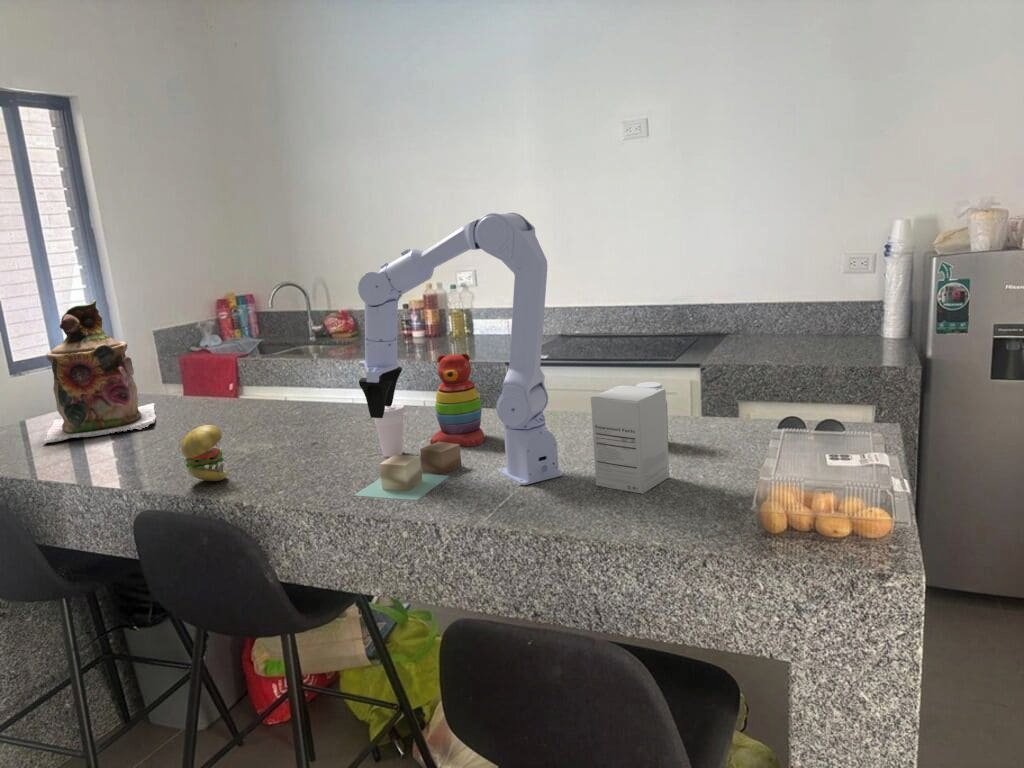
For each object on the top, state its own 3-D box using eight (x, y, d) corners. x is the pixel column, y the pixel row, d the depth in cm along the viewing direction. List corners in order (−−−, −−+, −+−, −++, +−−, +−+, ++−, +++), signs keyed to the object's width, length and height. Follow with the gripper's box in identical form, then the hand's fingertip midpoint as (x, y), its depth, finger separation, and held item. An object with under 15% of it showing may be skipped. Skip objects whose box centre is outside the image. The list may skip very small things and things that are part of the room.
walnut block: (461, 468, 136) (459, 444, 135) (443, 476, 132) (441, 452, 131) (441, 464, 139) (438, 441, 138) (422, 473, 135) (420, 449, 134)
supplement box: (623, 469, 128) (619, 384, 125) (670, 477, 122) (667, 388, 119) (593, 486, 121) (588, 395, 118) (642, 495, 116) (638, 400, 113)
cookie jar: (54, 426, 197) (29, 304, 190) (156, 410, 207) (136, 294, 200) (41, 447, 175) (12, 310, 168) (156, 429, 185) (133, 298, 178)
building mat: (450, 477, 131) (449, 475, 131) (416, 501, 120) (416, 500, 120) (390, 473, 136) (390, 472, 135) (353, 497, 125) (353, 495, 125)
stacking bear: (427, 447, 151) (418, 359, 147) (443, 433, 160) (435, 350, 157) (479, 446, 148) (471, 358, 145) (492, 432, 158) (485, 349, 154)
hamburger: (236, 480, 138) (226, 417, 136) (197, 492, 133) (186, 427, 131) (219, 473, 144) (209, 412, 141) (181, 483, 139) (170, 421, 137)
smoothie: (378, 462, 143) (369, 390, 140) (375, 453, 149) (367, 384, 146) (411, 457, 144) (404, 386, 142) (407, 449, 150) (399, 380, 148)
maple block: (422, 481, 129) (420, 456, 128) (408, 491, 125) (405, 465, 124) (397, 479, 131) (394, 454, 130) (382, 489, 126) (379, 463, 126)
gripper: (368, 330, 142) (368, 399, 145) (348, 345, 128) (349, 421, 131) (405, 332, 142) (405, 401, 145) (389, 347, 127) (389, 423, 131)
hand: (381, 411), depth 138 cm, fingers open, 7 cm apart
